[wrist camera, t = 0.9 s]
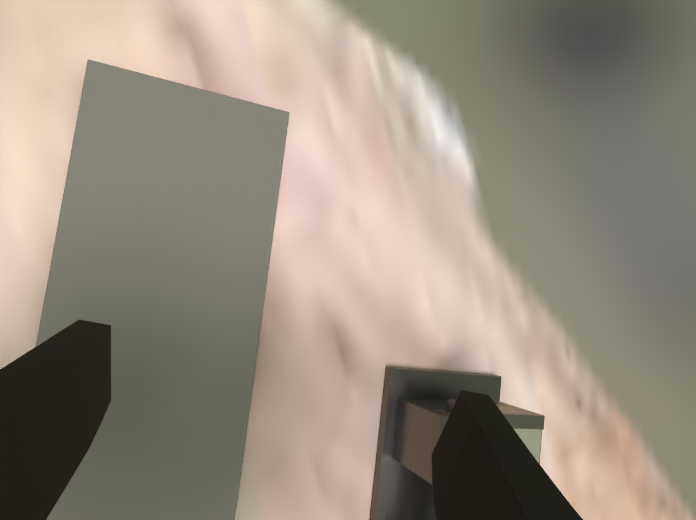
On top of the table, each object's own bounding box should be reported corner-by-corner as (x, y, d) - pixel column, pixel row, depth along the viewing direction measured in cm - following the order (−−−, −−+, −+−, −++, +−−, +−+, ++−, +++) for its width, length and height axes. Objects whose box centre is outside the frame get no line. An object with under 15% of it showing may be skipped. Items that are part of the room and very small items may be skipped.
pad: (225, 577, 23) (226, 581, 23) (-8, 595, 20) (-11, 601, 19) (287, 114, 25) (289, 112, 25) (88, 63, 22) (88, 59, 22)
